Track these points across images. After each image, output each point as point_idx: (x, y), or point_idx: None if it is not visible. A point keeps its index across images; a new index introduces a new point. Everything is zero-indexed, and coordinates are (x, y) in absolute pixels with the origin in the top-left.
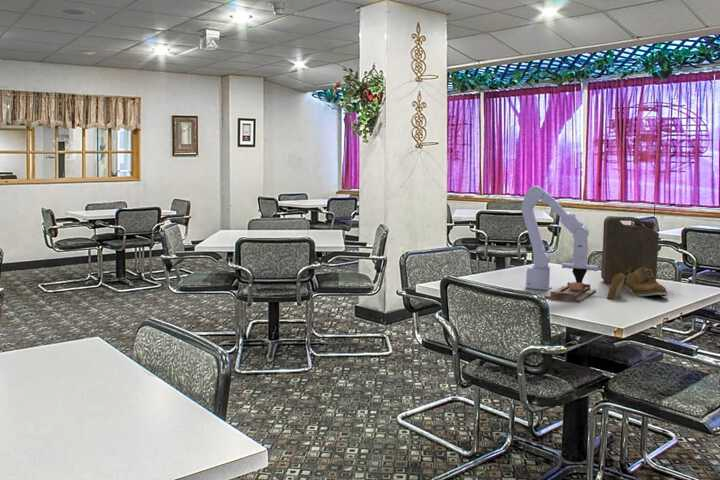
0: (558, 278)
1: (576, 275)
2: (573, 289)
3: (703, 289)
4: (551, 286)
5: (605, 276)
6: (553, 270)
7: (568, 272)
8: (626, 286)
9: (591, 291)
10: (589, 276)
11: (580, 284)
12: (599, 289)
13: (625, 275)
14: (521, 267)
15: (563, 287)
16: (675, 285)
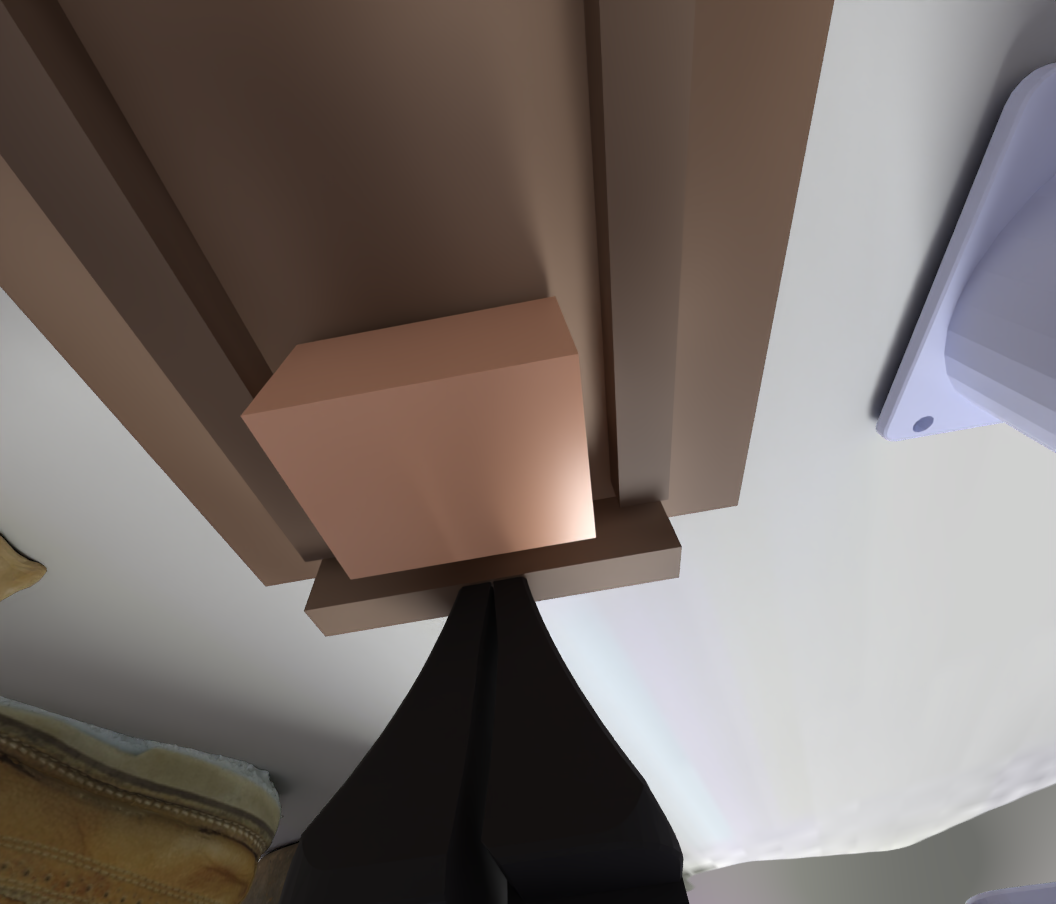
0: (811, 740)
1: (528, 718)
2: (452, 317)
3: None
4: (896, 427)
5: None
6: (848, 815)
7: (768, 822)
8: (226, 789)
9: (156, 432)
10: None
11: (258, 407)
12: (364, 663)
13: None
14: (1025, 789)
15: (663, 184)
16: None
